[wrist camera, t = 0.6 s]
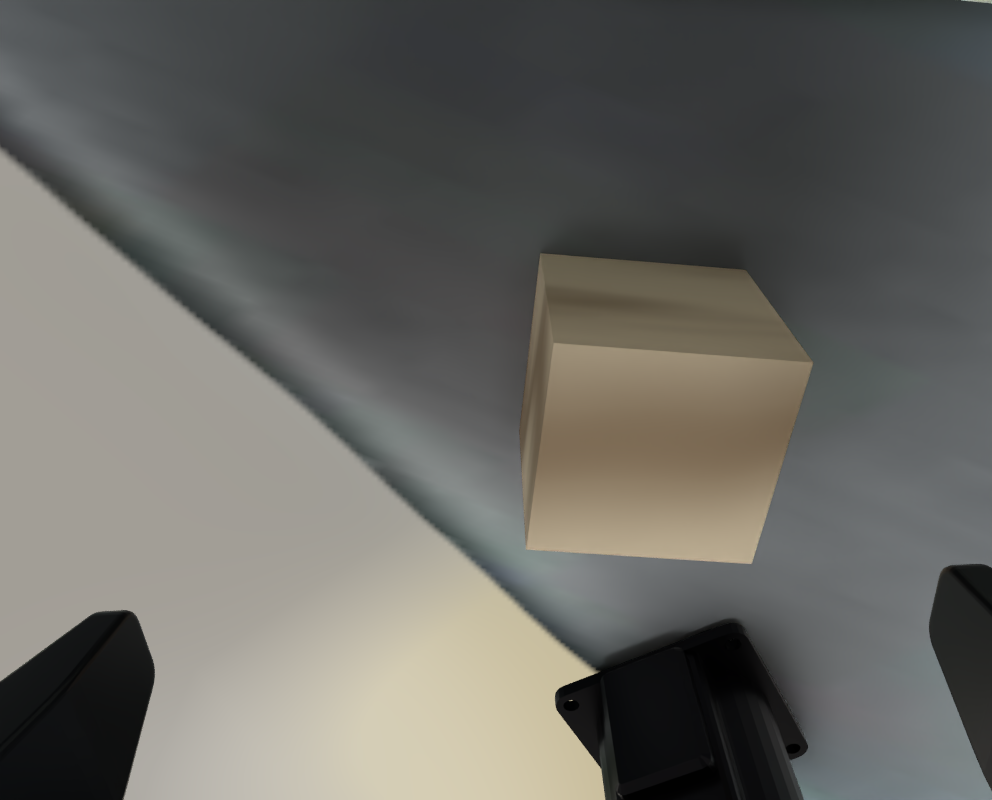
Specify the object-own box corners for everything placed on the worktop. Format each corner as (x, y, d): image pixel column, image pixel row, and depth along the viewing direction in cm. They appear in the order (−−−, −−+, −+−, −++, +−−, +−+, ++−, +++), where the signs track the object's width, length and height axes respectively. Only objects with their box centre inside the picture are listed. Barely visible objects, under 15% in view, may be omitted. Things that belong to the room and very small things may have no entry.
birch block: (702, 442, 23) (751, 564, 19) (519, 428, 23) (526, 549, 18) (744, 268, 20) (813, 362, 16) (540, 252, 20) (553, 343, 16)
